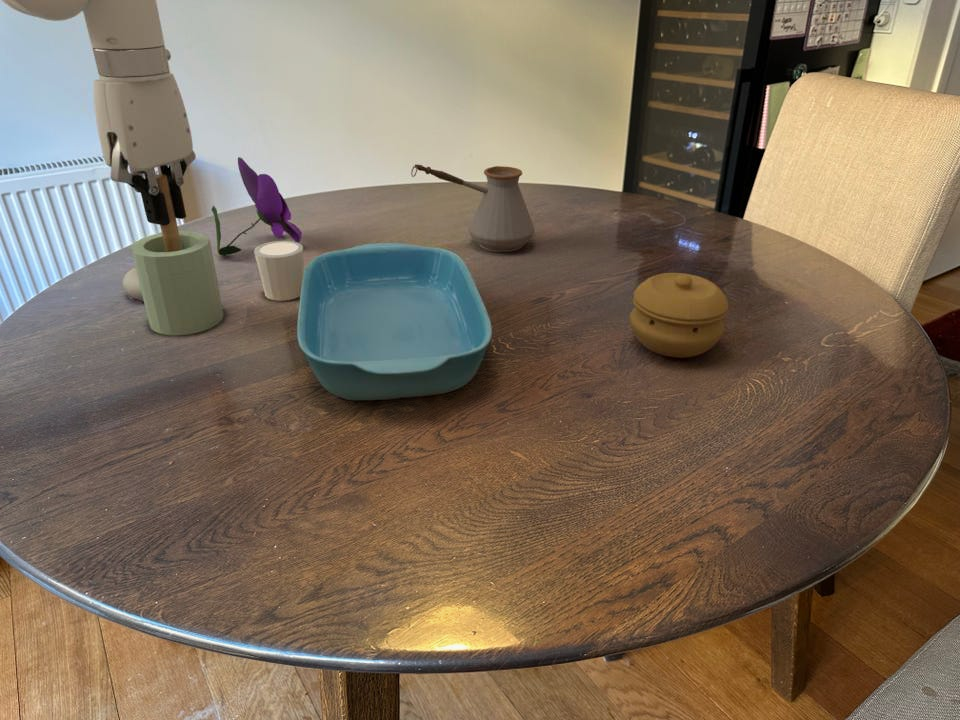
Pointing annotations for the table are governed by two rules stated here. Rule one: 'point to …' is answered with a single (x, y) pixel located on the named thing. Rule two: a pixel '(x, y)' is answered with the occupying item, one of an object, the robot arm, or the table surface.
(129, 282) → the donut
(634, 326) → the pot
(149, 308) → the jar
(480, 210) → the coffee pot
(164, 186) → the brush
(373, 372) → the casserole dish
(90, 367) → the table surface
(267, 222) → the flower
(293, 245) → the white cup
